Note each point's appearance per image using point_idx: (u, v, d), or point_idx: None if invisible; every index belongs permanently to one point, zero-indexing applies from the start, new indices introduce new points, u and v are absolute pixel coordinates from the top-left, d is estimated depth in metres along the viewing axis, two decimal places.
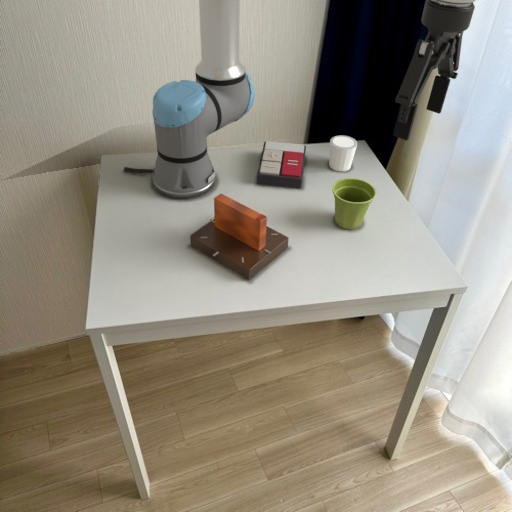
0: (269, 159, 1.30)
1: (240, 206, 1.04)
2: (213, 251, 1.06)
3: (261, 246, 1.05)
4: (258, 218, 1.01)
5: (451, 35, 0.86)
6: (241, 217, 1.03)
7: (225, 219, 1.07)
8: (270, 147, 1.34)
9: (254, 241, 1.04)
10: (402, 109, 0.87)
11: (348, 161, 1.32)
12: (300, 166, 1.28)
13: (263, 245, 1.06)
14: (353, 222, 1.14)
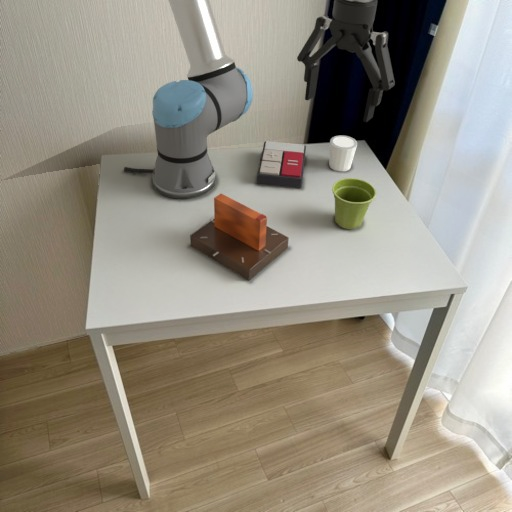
0: (269, 159, 1.30)
1: (240, 206, 1.04)
2: (213, 251, 1.06)
3: (261, 246, 1.05)
4: (258, 218, 1.01)
5: (355, 32, 0.94)
6: (241, 217, 1.03)
7: (225, 219, 1.07)
8: (270, 147, 1.34)
9: (254, 241, 1.04)
10: None
11: (348, 161, 1.32)
12: (300, 166, 1.28)
13: (263, 245, 1.06)
14: (353, 222, 1.14)
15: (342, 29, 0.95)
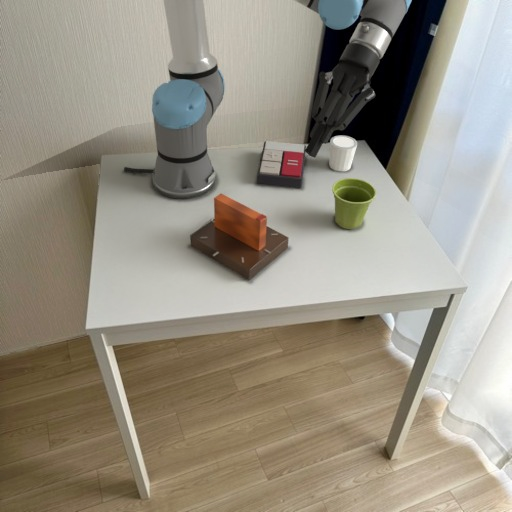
0: (269, 159, 1.30)
1: (240, 206, 1.04)
2: (213, 251, 1.06)
3: (261, 246, 1.05)
4: (258, 218, 1.01)
5: (356, 75, 1.06)
6: (241, 217, 1.03)
7: (225, 219, 1.07)
8: (270, 147, 1.34)
9: (254, 241, 1.04)
10: None
11: (348, 161, 1.32)
12: (300, 166, 1.28)
13: (263, 245, 1.06)
14: (353, 222, 1.14)
15: None
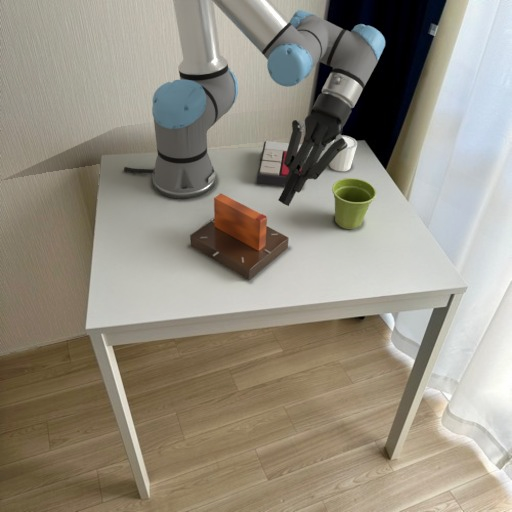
0: (269, 159, 1.30)
1: (240, 206, 1.04)
2: (213, 251, 1.06)
3: (261, 246, 1.05)
4: (258, 218, 1.01)
5: (328, 125, 1.06)
6: (241, 217, 1.03)
7: (225, 219, 1.07)
8: (270, 147, 1.34)
9: (254, 241, 1.04)
10: None
11: (348, 161, 1.32)
12: None
13: (263, 245, 1.06)
14: (353, 222, 1.14)
15: None
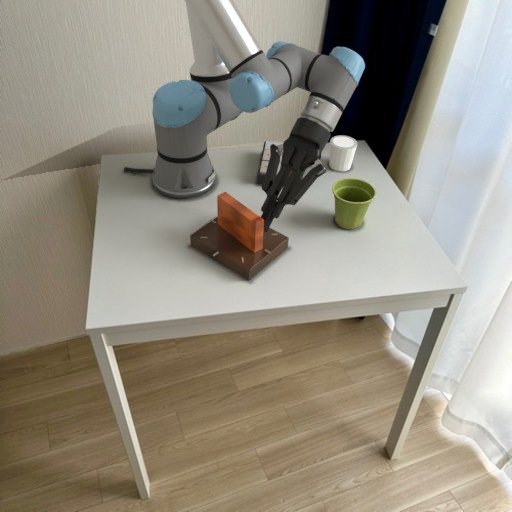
0: None
1: (240, 206, 1.04)
2: (213, 251, 1.06)
3: (257, 248, 1.05)
4: (254, 220, 1.00)
5: (306, 150, 1.03)
6: (239, 217, 1.03)
7: (226, 217, 1.07)
8: None
9: (250, 242, 1.04)
10: None
11: (348, 161, 1.32)
12: None
13: (260, 248, 1.05)
14: (353, 222, 1.14)
15: (293, 146, 1.04)
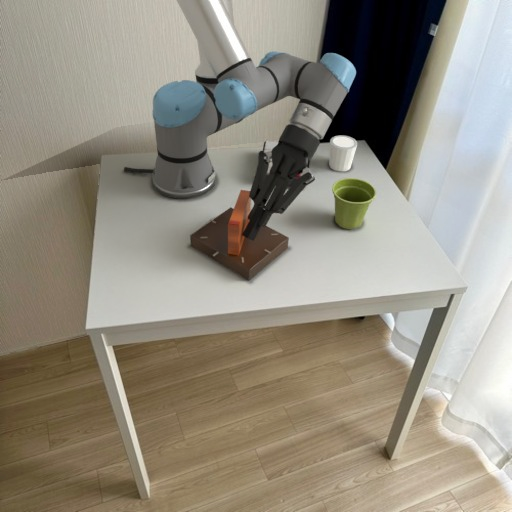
0: None
1: (241, 207, 1.04)
2: (213, 251, 1.06)
3: (231, 251, 1.04)
4: (231, 221, 1.00)
5: (295, 158, 1.01)
6: None
7: None
8: (270, 147, 1.34)
9: None
10: None
11: (348, 161, 1.32)
12: None
13: (235, 253, 1.04)
14: (353, 222, 1.14)
15: (281, 153, 1.02)
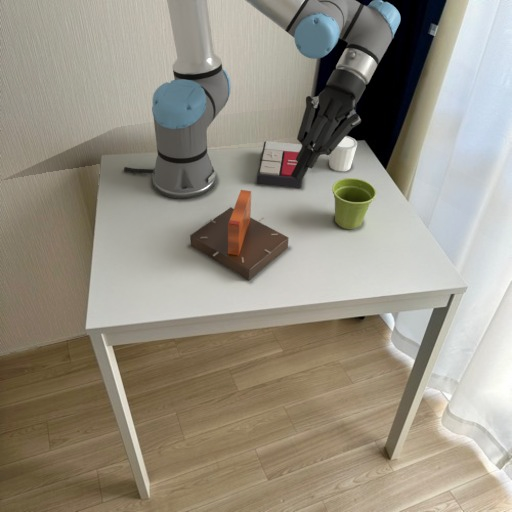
0: (269, 159, 1.30)
1: (241, 207, 1.04)
2: (213, 251, 1.06)
3: (231, 251, 1.04)
4: (231, 221, 1.00)
5: (342, 101, 1.06)
6: None
7: None
8: (270, 147, 1.34)
9: None
10: None
11: (348, 161, 1.32)
12: None
13: (235, 253, 1.04)
14: (353, 222, 1.14)
15: None
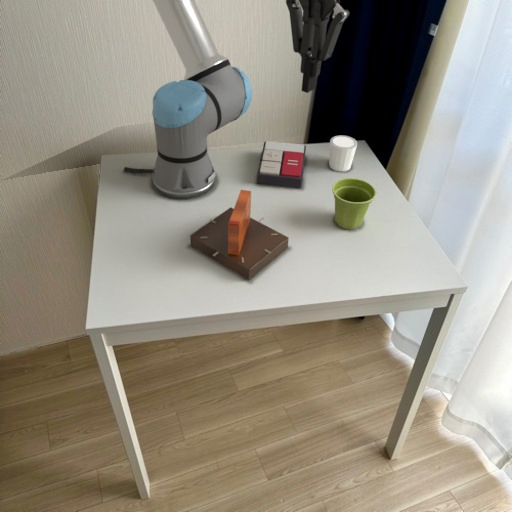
0: (269, 159, 1.30)
1: (241, 207, 1.04)
2: (213, 251, 1.06)
3: (231, 251, 1.04)
4: (231, 221, 1.00)
5: None
6: None
7: None
8: (270, 147, 1.34)
9: None
10: None
11: (348, 161, 1.32)
12: (300, 166, 1.28)
13: (235, 253, 1.04)
14: (353, 222, 1.14)
15: None
